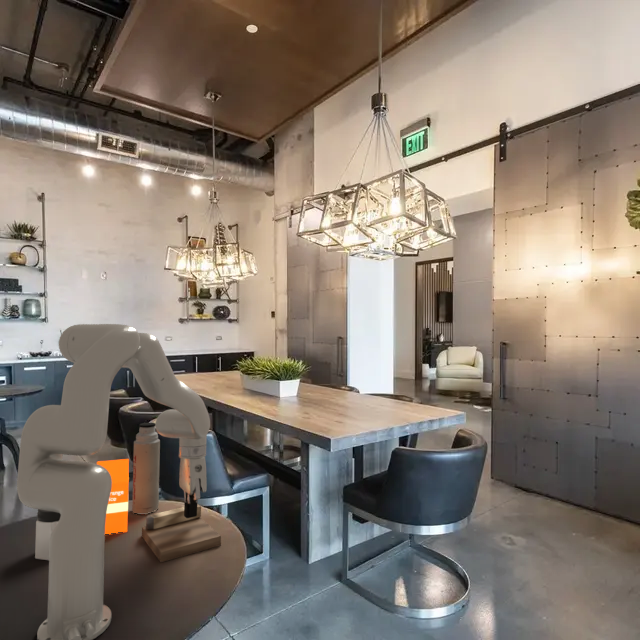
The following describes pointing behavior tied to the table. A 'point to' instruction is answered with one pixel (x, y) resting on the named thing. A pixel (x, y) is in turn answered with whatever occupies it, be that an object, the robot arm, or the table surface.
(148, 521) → the hinged leg
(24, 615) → the table surface
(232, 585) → the table surface
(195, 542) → the stool top
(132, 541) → the table surface
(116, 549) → the table surface
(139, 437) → the thermos bottle
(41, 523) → the jar
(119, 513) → the orange juice
